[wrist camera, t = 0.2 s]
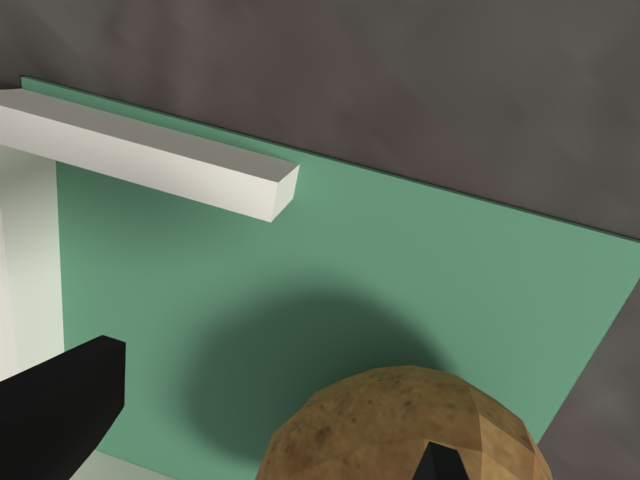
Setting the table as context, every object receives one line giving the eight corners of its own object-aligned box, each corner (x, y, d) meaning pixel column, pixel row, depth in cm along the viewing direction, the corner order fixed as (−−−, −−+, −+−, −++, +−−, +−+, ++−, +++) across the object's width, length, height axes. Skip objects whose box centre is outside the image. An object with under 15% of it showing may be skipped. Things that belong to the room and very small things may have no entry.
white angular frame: (229, 515, 27) (207, 565, 24) (48, 448, 28) (9, 490, 25) (299, 164, 17) (278, 182, 14) (22, 88, 18) (-46, 92, 16)
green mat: (441, 591, 26) (441, 598, 25) (53, 449, 29) (49, 453, 28) (652, 243, 16) (657, 248, 16) (28, 76, 19) (21, 76, 18)
